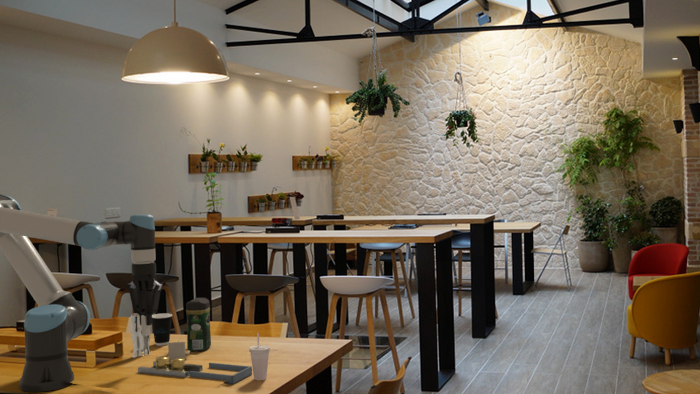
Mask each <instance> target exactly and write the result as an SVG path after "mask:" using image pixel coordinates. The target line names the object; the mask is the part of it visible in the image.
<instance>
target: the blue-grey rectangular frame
mask: <svg viewBox="0 0 700 394" xmlns="http://www.w3.org/2000/svg"><path fill="white" fill-rule="evenodd" d="M208 368H209V369H217V370H218V369H219V370H227V371H235V372H236V373H234V374H225V373H223V374H222V373H214V372H205V371H204V372H203V371H199V372H195V371H190V376H189V377H190V378H199V379H210V380H217V381H219V380H220V381H223V384H228V385H235V384H236V383H239V382H240V381H242V380H244V379H246V378H248V377H249V376H252V375H253V367H252V365H251V366H249V365H239V364H229V363H227V364H226V363H217V362H208ZM237 371H238V372H237Z"/></svg>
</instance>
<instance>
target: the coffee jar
mask: <svg viewBox="0 0 700 394" xmlns="http://www.w3.org/2000/svg"><path fill="white" fill-rule="evenodd" d="M185 307H186V308H185V311H186V325H187V327H186V328H187V329H186V332H187V333H186V338H187V340H186V341H187V342H186V343H187V345H186V346H187V347H186V348H187V351H188V350H190V352H200V351H207V350H208V349H209V348H210V347H211V346H212V338H211V336H212V335H211V317H210V316H211V314H210V311H211V303H210V300H209V299H208V298H206V297H196V298H194V299H192V300H190V301H188V302H186V304H185Z"/></svg>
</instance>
